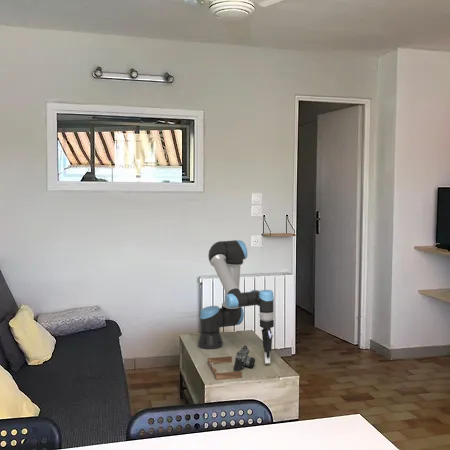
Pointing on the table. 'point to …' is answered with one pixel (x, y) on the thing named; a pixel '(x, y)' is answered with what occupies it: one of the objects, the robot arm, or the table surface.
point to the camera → (243, 359)
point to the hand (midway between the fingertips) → (267, 362)
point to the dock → (227, 374)
